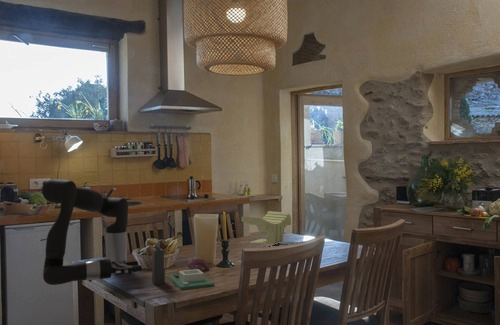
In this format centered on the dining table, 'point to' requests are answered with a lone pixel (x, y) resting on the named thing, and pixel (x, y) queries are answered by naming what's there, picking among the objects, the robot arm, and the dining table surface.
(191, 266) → the video game controller
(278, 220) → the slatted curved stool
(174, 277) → the circuit board
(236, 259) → the dining table surface
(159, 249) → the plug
